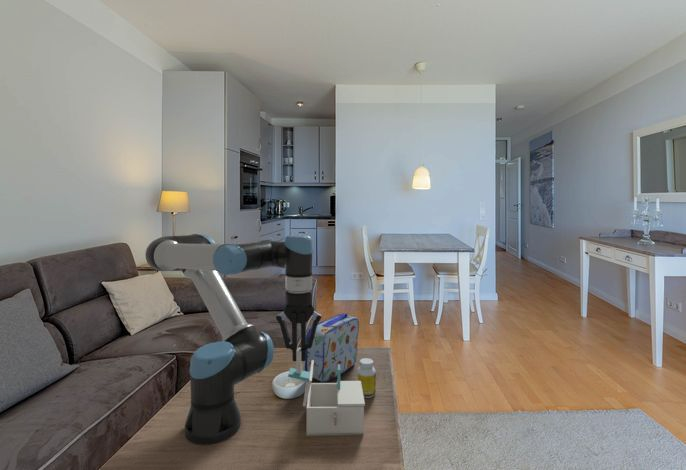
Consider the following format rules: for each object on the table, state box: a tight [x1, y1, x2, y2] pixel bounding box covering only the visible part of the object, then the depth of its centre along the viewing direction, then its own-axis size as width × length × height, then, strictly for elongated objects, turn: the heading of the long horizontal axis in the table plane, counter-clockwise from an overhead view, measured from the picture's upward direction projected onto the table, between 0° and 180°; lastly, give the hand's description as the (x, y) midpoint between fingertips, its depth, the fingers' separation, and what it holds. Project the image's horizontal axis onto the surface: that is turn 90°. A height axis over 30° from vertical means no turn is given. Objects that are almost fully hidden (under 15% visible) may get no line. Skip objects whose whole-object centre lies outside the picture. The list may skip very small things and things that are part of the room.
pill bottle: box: [356, 357, 377, 399], centre depth 120 cm, size 6×6×12 cm
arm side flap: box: [287, 360, 314, 407], centre depth 104 cm, size 8×13×7 cm
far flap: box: [336, 364, 366, 407], centre depth 104 cm, size 8×13×7 cm, turn 2°
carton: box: [306, 382, 365, 437], centre depth 104 cm, size 16×16×8 cm
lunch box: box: [304, 313, 360, 383], centre depth 136 cm, size 28×10×22 cm, turn 148°
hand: (299, 371), depth 100 cm, fingers closed
